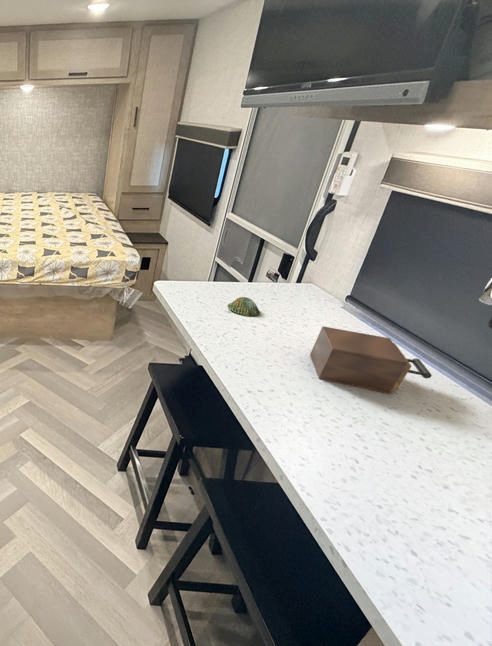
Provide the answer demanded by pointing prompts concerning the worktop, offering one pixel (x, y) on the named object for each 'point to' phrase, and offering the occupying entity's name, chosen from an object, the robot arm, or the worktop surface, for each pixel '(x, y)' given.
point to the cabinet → (357, 359)
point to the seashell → (244, 307)
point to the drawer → (419, 367)
